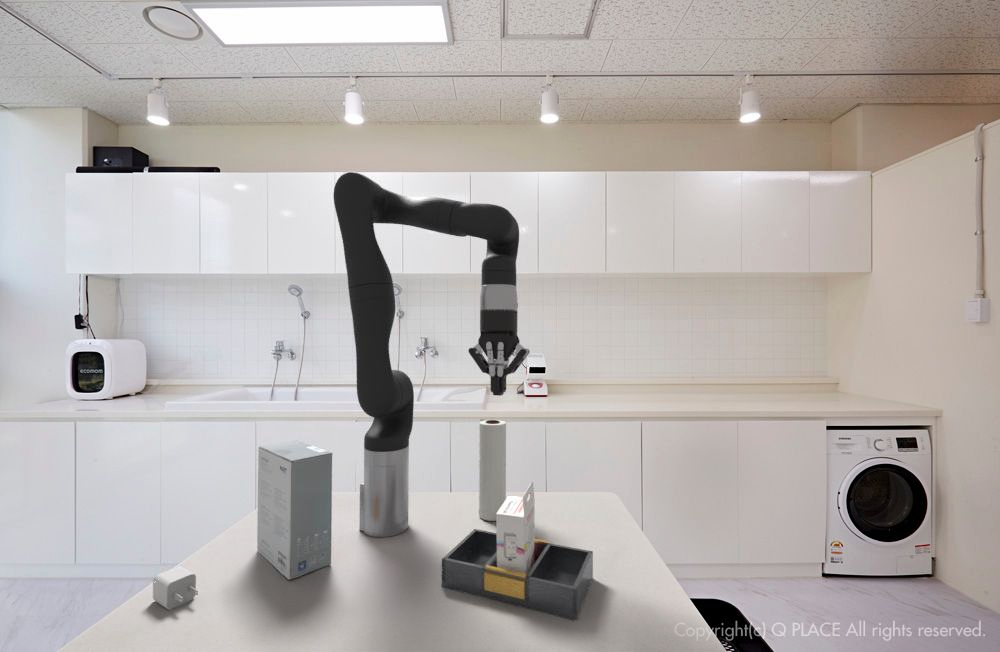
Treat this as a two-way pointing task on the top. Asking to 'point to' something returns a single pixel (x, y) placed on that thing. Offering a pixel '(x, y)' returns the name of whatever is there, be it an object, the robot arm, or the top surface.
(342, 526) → the top surface
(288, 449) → the hard drive box
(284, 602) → the top surface
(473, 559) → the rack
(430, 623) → the top surface
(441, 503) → the top surface
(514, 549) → the ink cartridge box
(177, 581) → the usb wall charger
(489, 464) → the paper towel roll
